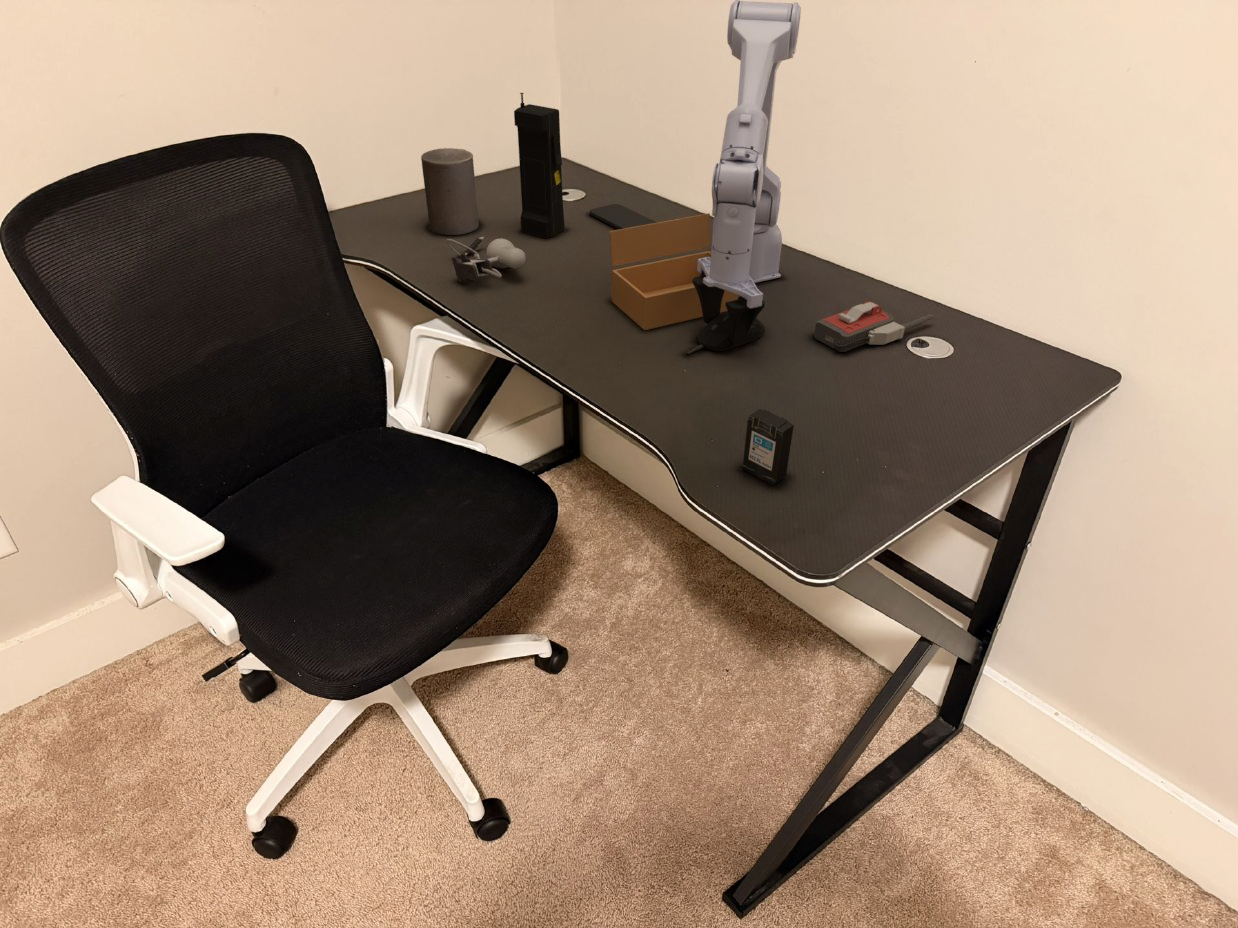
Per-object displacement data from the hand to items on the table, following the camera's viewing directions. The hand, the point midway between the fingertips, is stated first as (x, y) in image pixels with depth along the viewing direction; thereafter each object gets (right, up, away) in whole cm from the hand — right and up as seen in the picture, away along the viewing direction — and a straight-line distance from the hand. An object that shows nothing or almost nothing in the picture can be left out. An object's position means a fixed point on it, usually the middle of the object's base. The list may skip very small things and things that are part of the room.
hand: (724, 332), depth 131 cm
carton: (-6, +6, +11) cm, 14 cm away
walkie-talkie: (+23, 0, +3) cm, 23 cm away
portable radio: (-30, +25, +36) cm, 53 cm away
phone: (-15, +28, +41) cm, 52 cm away
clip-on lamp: (-40, +14, +22) cm, 48 cm away
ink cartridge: (+2, -21, -26) cm, 34 cm away
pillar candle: (-48, +26, +38) cm, 67 cm away
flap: (-9, +17, +10) cm, 21 cm away
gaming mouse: (0, -1, +1) cm, 2 cm away
